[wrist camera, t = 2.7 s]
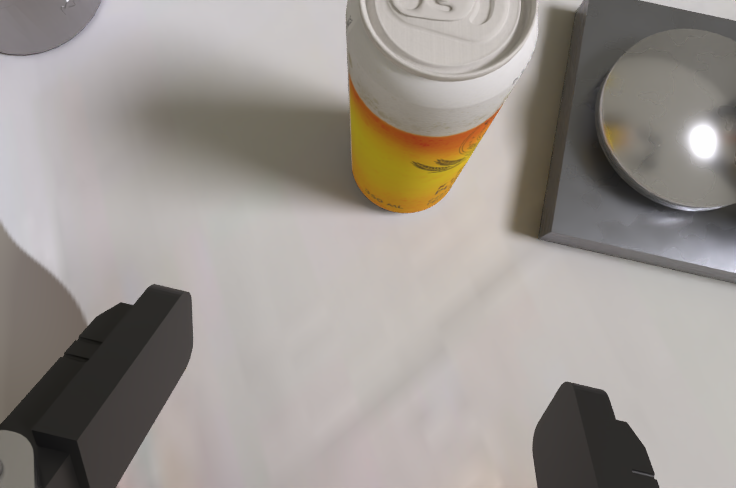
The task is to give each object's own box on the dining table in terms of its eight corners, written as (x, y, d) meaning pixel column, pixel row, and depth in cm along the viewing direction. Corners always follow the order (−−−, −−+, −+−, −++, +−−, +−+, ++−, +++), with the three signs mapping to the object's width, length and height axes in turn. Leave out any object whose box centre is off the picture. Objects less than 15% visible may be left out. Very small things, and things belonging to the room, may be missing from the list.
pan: (582, 188, 26) (591, 182, 25) (607, 22, 28) (616, 11, 27) (769, 229, 26) (785, 225, 25) (782, 60, 28) (798, 50, 27)
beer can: (448, 223, 29) (543, 104, 14) (344, 208, 29) (329, 73, 14) (460, 126, 30) (560, -81, 15) (359, 111, 30) (361, -109, 15)
